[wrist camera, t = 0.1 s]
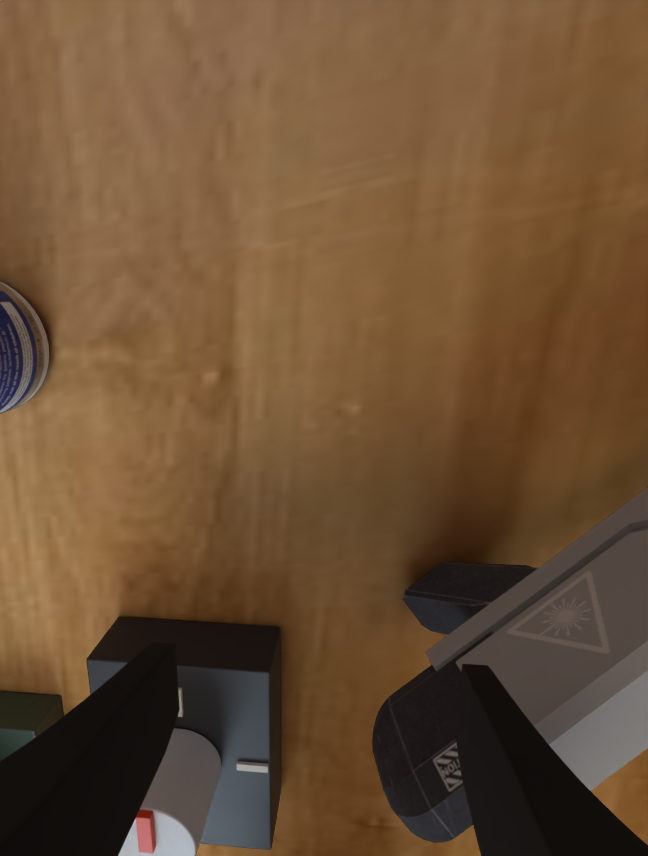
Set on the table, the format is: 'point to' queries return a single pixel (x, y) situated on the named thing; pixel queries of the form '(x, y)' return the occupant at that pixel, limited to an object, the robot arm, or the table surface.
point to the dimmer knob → (176, 799)
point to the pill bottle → (20, 350)
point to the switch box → (25, 718)
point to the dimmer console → (219, 712)
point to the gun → (526, 666)
